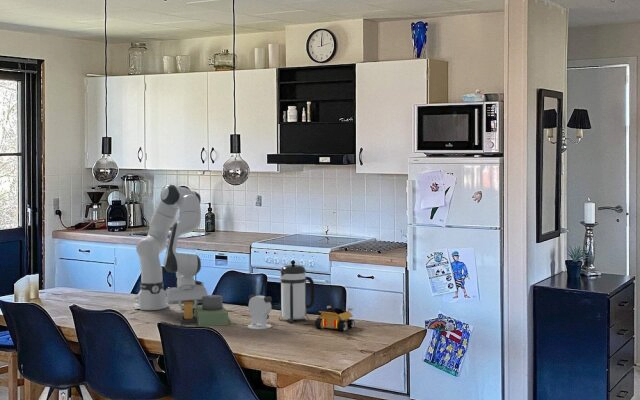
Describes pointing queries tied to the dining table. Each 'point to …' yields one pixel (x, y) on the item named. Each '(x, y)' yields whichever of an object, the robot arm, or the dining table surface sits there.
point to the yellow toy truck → (335, 319)
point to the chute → (188, 309)
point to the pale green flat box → (209, 312)
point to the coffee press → (295, 292)
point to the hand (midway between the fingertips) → (188, 309)
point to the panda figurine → (259, 311)
